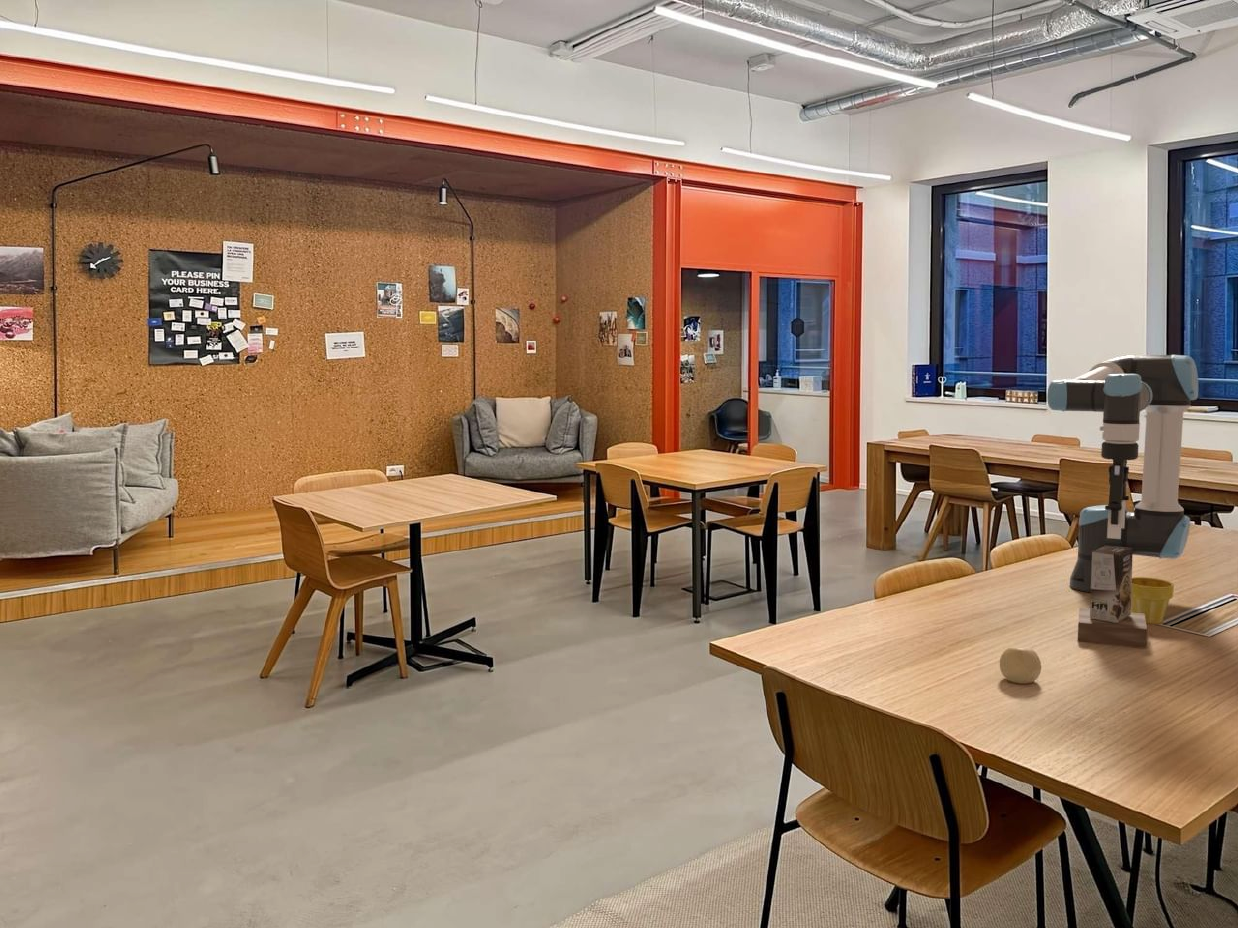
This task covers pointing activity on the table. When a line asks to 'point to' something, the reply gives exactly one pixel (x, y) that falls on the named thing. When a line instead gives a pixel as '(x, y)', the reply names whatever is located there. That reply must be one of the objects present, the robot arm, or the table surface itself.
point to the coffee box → (1111, 583)
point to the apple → (1020, 665)
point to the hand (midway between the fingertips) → (1115, 533)
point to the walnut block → (1113, 630)
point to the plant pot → (1151, 597)
